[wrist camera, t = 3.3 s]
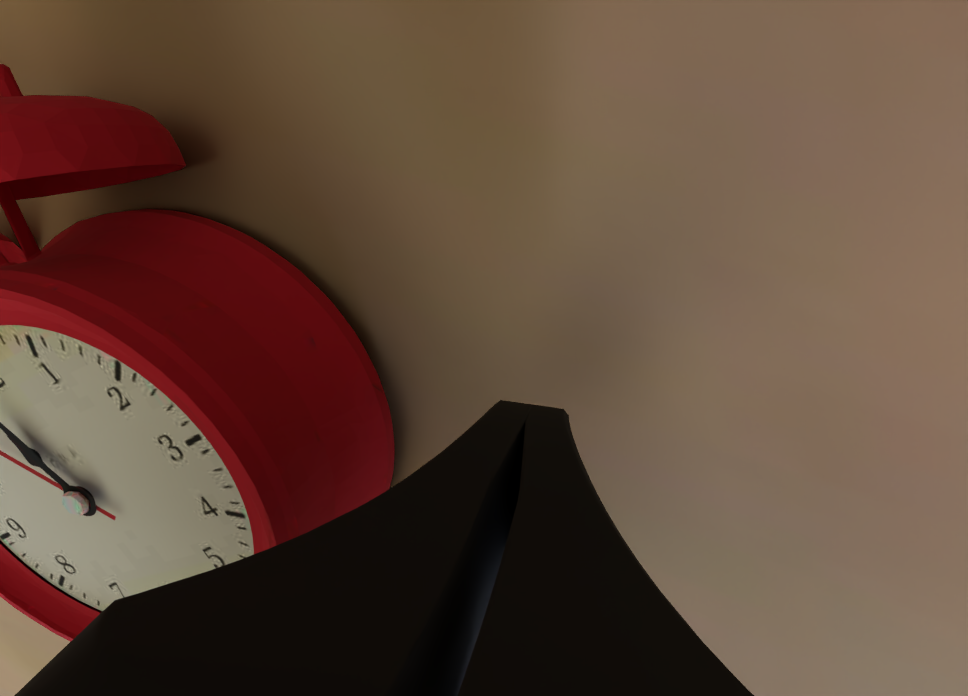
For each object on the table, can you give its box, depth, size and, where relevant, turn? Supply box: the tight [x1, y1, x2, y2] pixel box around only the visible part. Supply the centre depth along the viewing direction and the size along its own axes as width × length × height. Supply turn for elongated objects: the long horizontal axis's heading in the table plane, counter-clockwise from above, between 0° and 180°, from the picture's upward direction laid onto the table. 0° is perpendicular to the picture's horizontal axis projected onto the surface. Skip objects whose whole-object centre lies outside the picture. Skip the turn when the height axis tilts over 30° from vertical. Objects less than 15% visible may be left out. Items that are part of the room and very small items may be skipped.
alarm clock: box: [0, 64, 395, 641], centre depth 11 cm, size 10×6×15 cm
